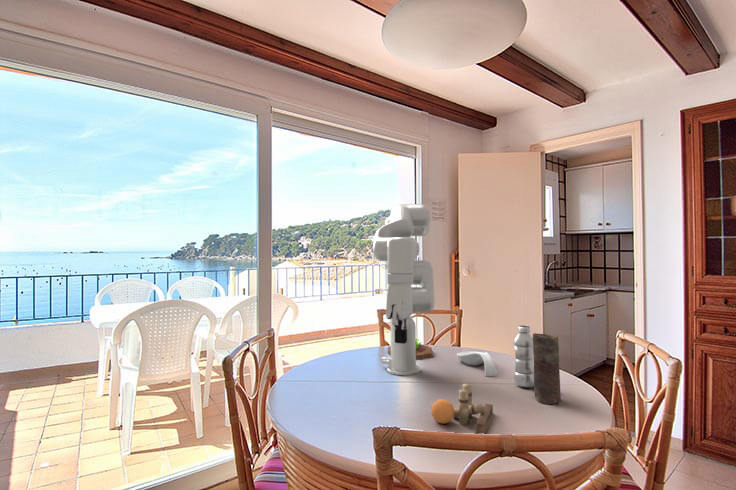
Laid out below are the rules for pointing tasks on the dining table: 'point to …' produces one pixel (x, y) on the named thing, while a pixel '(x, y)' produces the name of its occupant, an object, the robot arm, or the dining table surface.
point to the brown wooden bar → (484, 419)
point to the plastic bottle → (524, 357)
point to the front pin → (471, 410)
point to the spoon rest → (479, 361)
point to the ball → (442, 411)
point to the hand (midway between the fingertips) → (400, 342)
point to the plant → (420, 351)
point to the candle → (546, 368)
